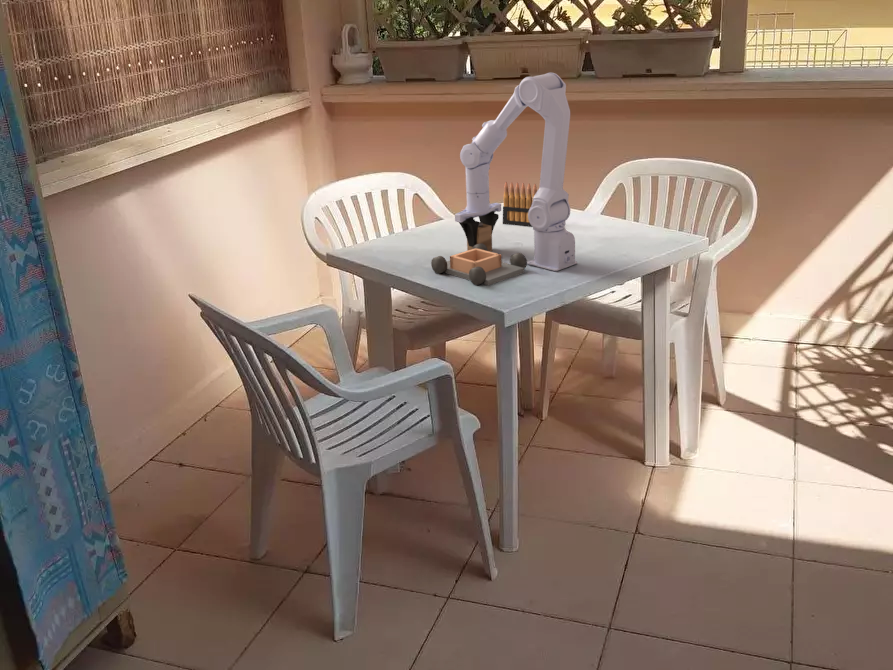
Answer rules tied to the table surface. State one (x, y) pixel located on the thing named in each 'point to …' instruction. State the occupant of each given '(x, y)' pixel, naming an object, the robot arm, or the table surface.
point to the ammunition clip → (517, 205)
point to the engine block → (483, 236)
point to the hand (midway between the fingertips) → (479, 244)
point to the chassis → (480, 265)
